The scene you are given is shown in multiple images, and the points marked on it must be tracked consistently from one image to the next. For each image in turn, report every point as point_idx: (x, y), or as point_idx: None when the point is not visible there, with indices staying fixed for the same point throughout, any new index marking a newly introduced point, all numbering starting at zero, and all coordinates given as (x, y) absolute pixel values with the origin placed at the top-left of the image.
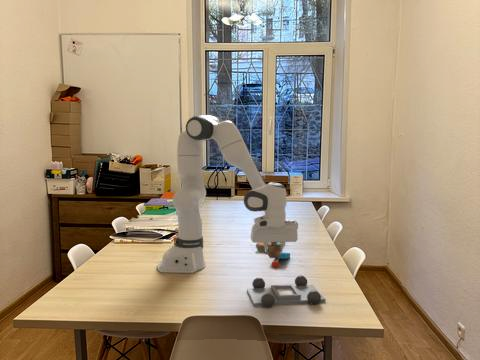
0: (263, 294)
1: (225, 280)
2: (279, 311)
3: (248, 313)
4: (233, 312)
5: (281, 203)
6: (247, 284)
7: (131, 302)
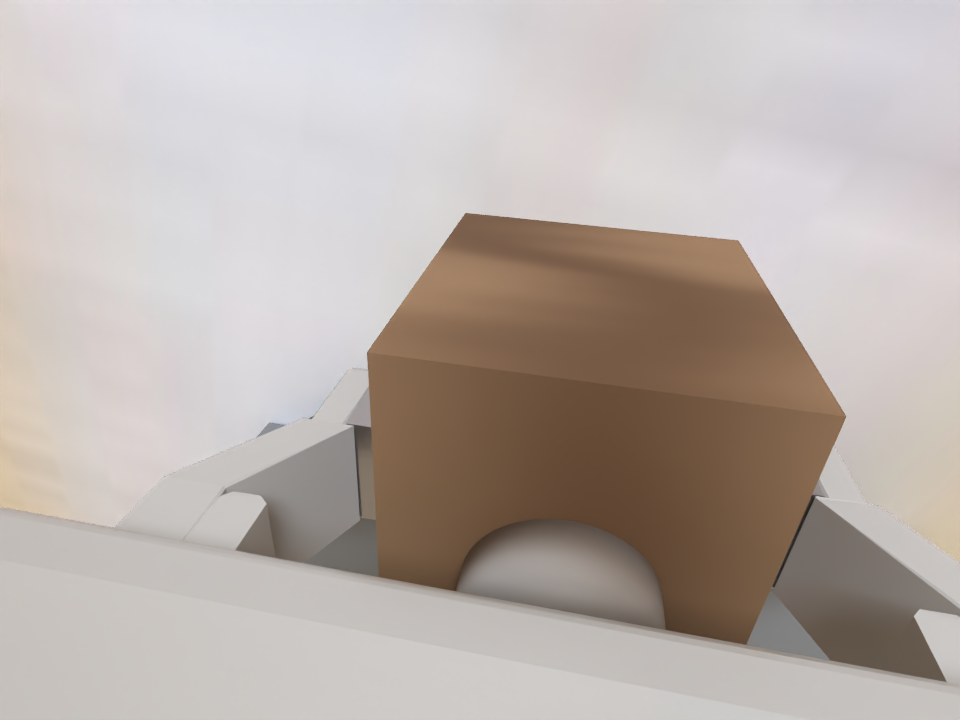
0: (372, 559)
1: (56, 112)
2: None
3: None
4: None
5: None
6: (283, 280)
7: None
